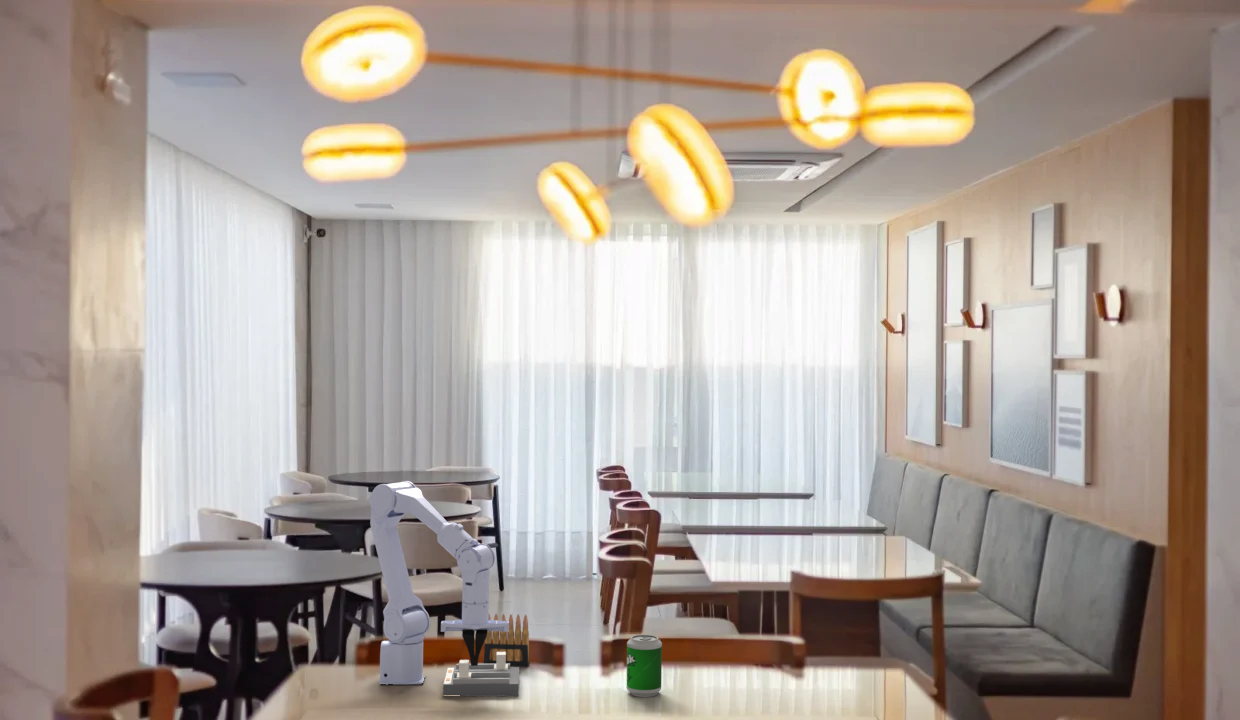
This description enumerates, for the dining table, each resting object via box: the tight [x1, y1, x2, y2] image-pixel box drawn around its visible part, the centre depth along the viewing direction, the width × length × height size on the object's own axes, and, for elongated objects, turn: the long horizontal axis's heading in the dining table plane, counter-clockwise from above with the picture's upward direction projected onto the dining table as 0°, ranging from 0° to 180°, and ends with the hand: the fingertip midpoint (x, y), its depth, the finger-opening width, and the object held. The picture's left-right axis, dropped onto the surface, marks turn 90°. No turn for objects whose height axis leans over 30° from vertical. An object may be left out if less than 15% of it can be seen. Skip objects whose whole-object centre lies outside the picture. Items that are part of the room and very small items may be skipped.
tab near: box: [457, 659, 471, 678], centre depth 257 cm, size 3×4×4 cm
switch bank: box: [442, 663, 520, 697], centre depth 261 cm, size 16×14×4 cm
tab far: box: [494, 651, 508, 669], centre depth 265 cm, size 3×4×4 cm
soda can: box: [626, 634, 663, 698], centre depth 258 cm, size 8×8×12 cm
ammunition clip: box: [482, 613, 531, 668], centre depth 281 cm, size 11×2×12 cm, turn 86°
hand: (474, 664), depth 258 cm, fingers closed
